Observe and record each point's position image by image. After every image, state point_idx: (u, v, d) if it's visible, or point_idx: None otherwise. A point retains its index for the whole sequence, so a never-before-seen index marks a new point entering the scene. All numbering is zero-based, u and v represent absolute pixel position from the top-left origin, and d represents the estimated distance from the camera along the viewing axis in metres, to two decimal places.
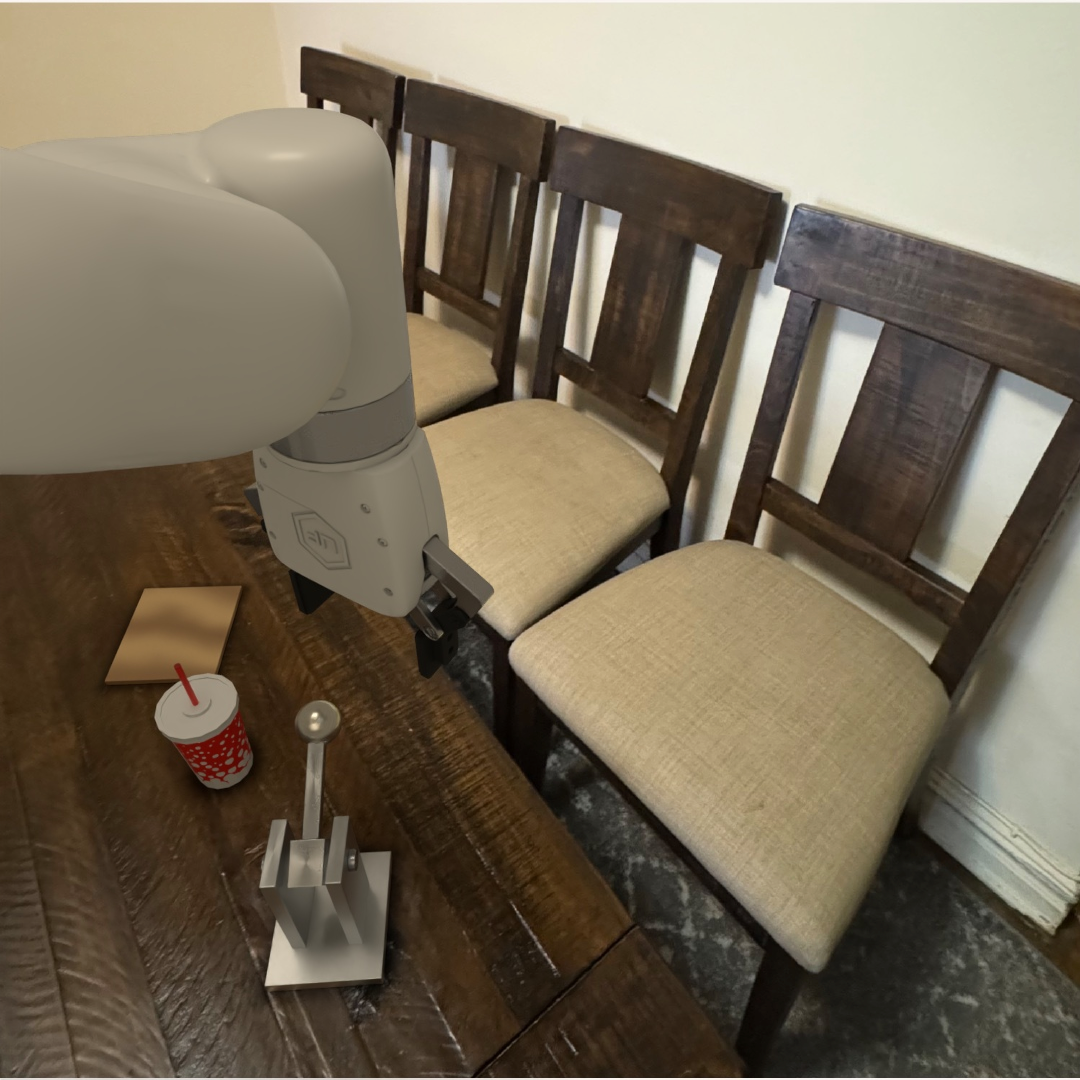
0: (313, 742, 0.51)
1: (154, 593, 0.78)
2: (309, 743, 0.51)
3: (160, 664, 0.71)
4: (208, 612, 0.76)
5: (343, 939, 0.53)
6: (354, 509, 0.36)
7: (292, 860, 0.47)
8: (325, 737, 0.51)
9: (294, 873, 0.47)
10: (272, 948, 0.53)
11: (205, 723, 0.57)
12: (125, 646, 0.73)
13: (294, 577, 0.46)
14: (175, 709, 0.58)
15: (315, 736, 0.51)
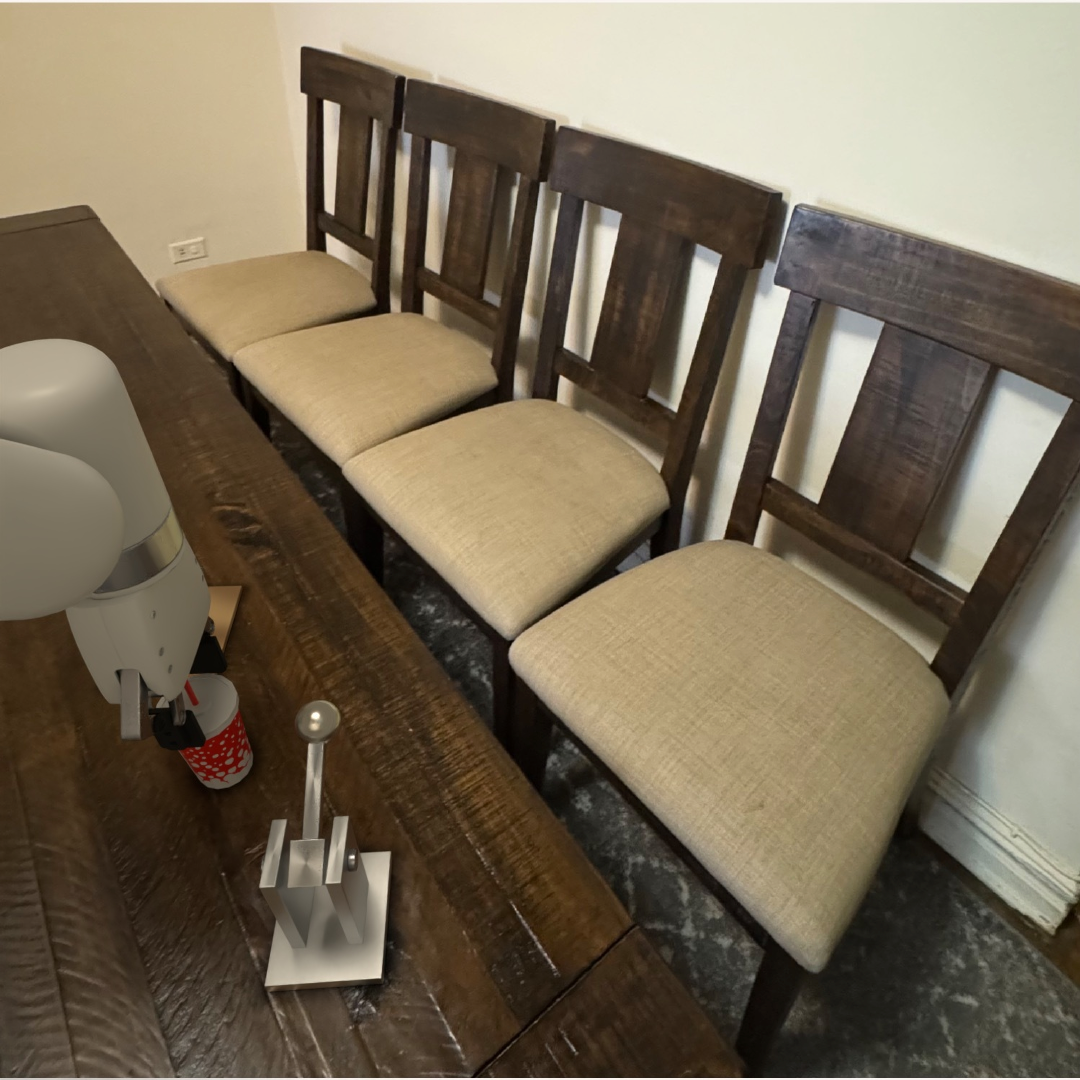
0: (313, 742, 0.51)
1: None
2: (309, 743, 0.51)
3: None
4: None
5: (343, 939, 0.53)
6: None
7: (292, 860, 0.47)
8: (325, 737, 0.51)
9: (294, 873, 0.47)
10: (272, 948, 0.53)
11: (205, 723, 0.57)
12: None
13: None
14: None
15: (315, 736, 0.51)
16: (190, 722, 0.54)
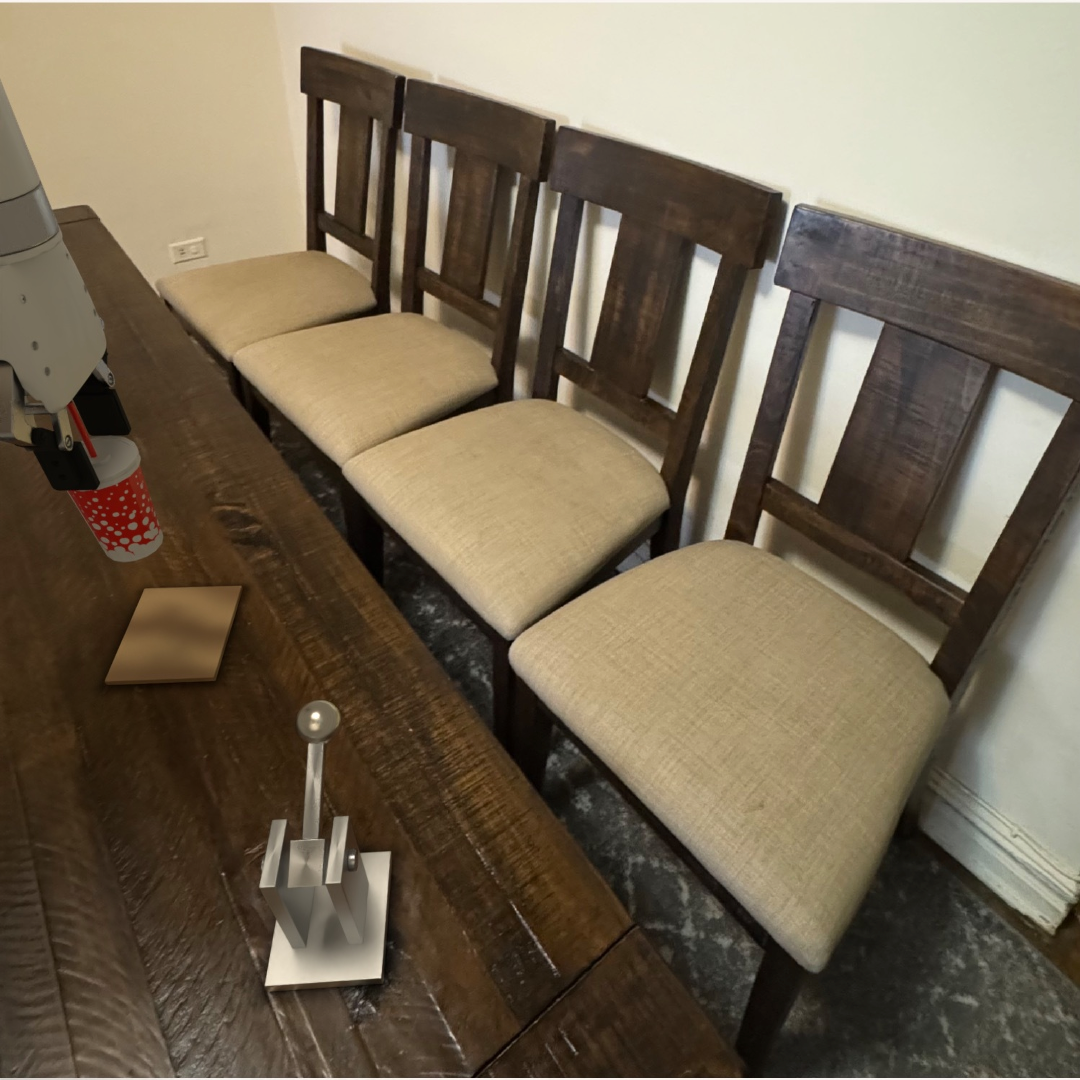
0: (313, 742, 0.51)
1: (154, 593, 0.78)
2: (309, 743, 0.51)
3: (160, 664, 0.71)
4: (208, 612, 0.76)
5: (343, 939, 0.53)
6: None
7: (292, 860, 0.47)
8: (325, 737, 0.51)
9: (294, 873, 0.47)
10: (272, 948, 0.53)
11: (102, 472, 0.56)
12: (125, 646, 0.73)
13: None
14: None
15: (315, 736, 0.51)
16: (79, 453, 0.52)
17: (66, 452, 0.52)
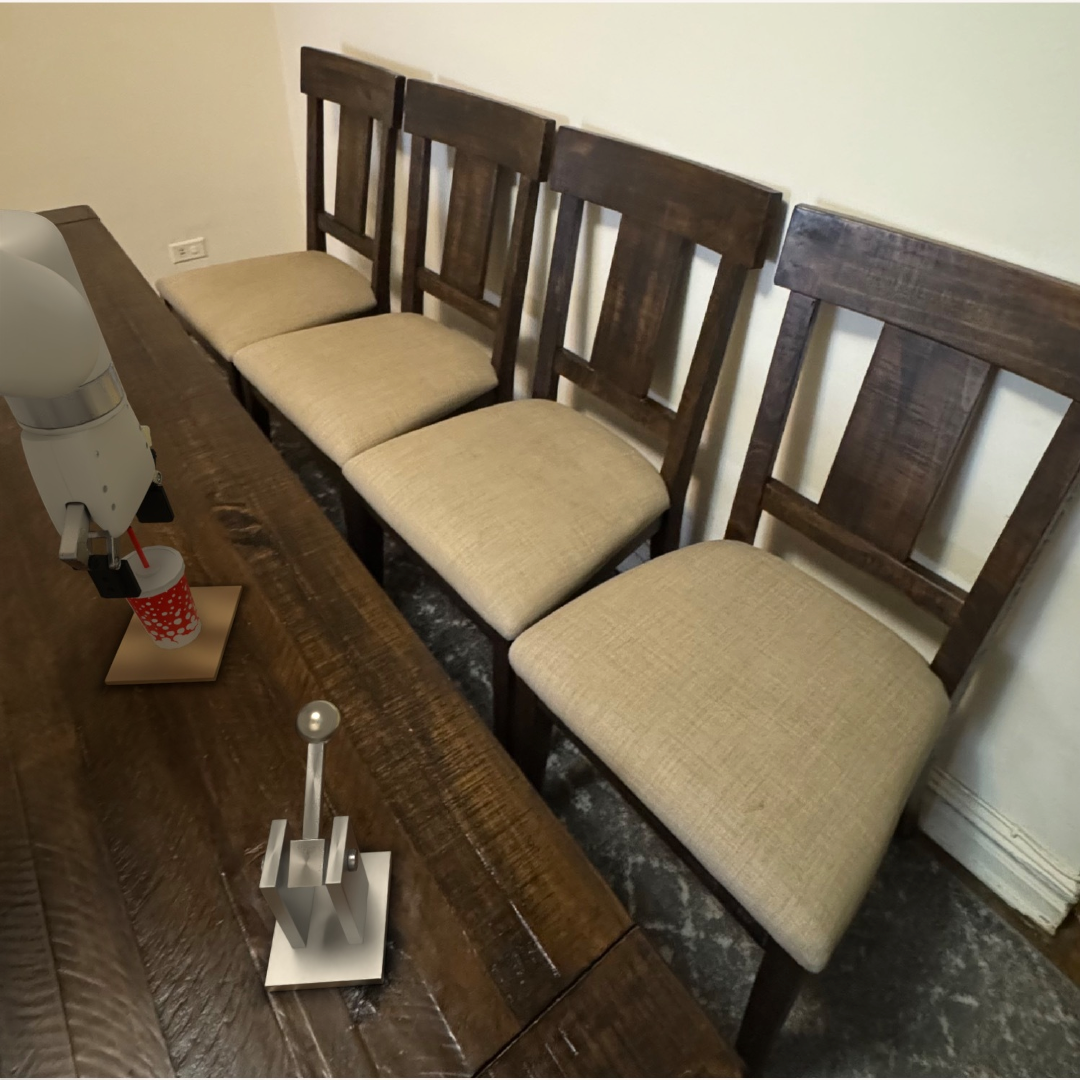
0: (313, 742, 0.51)
1: None
2: (309, 743, 0.51)
3: (160, 664, 0.71)
4: (208, 612, 0.76)
5: (343, 939, 0.53)
6: None
7: (292, 860, 0.47)
8: (325, 737, 0.51)
9: (294, 873, 0.47)
10: (272, 948, 0.53)
11: (154, 581, 0.67)
12: (125, 646, 0.73)
13: None
14: None
15: (315, 736, 0.51)
16: (125, 570, 0.61)
17: (115, 570, 0.61)
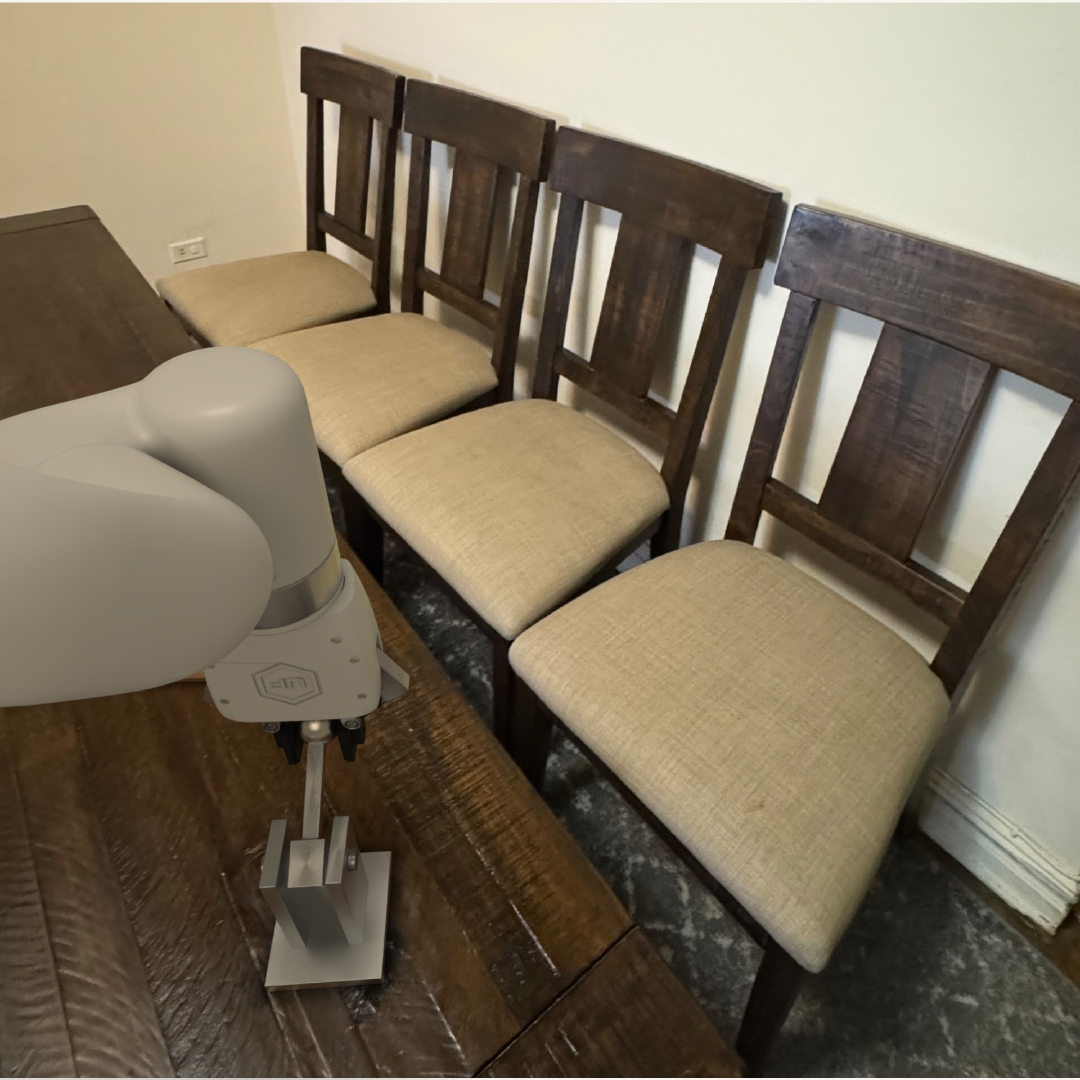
0: (313, 742, 0.51)
1: None
2: (309, 743, 0.51)
3: None
4: None
5: (343, 939, 0.53)
6: (325, 645, 0.42)
7: (292, 860, 0.47)
8: (325, 737, 0.51)
9: (294, 873, 0.47)
10: (272, 948, 0.53)
11: None
12: None
13: (285, 738, 0.50)
14: None
15: (315, 736, 0.51)
16: None
17: None
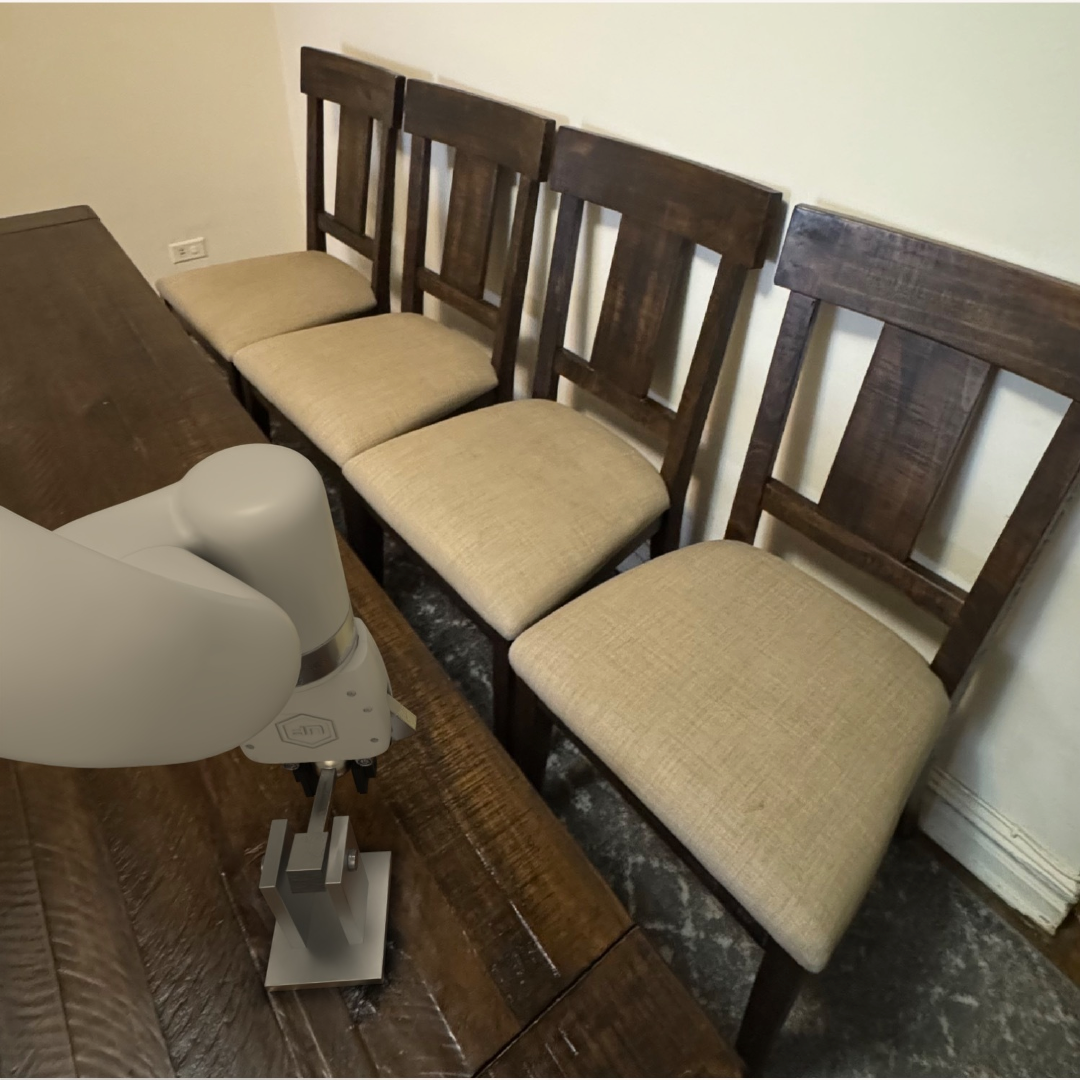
0: (326, 765, 0.55)
1: None
2: (322, 767, 0.55)
3: None
4: None
5: (343, 939, 0.53)
6: (341, 698, 0.47)
7: (294, 848, 0.48)
8: (338, 761, 0.55)
9: (295, 859, 0.47)
10: (272, 948, 0.53)
11: None
12: None
13: (303, 774, 0.55)
14: None
15: None
16: None
17: None
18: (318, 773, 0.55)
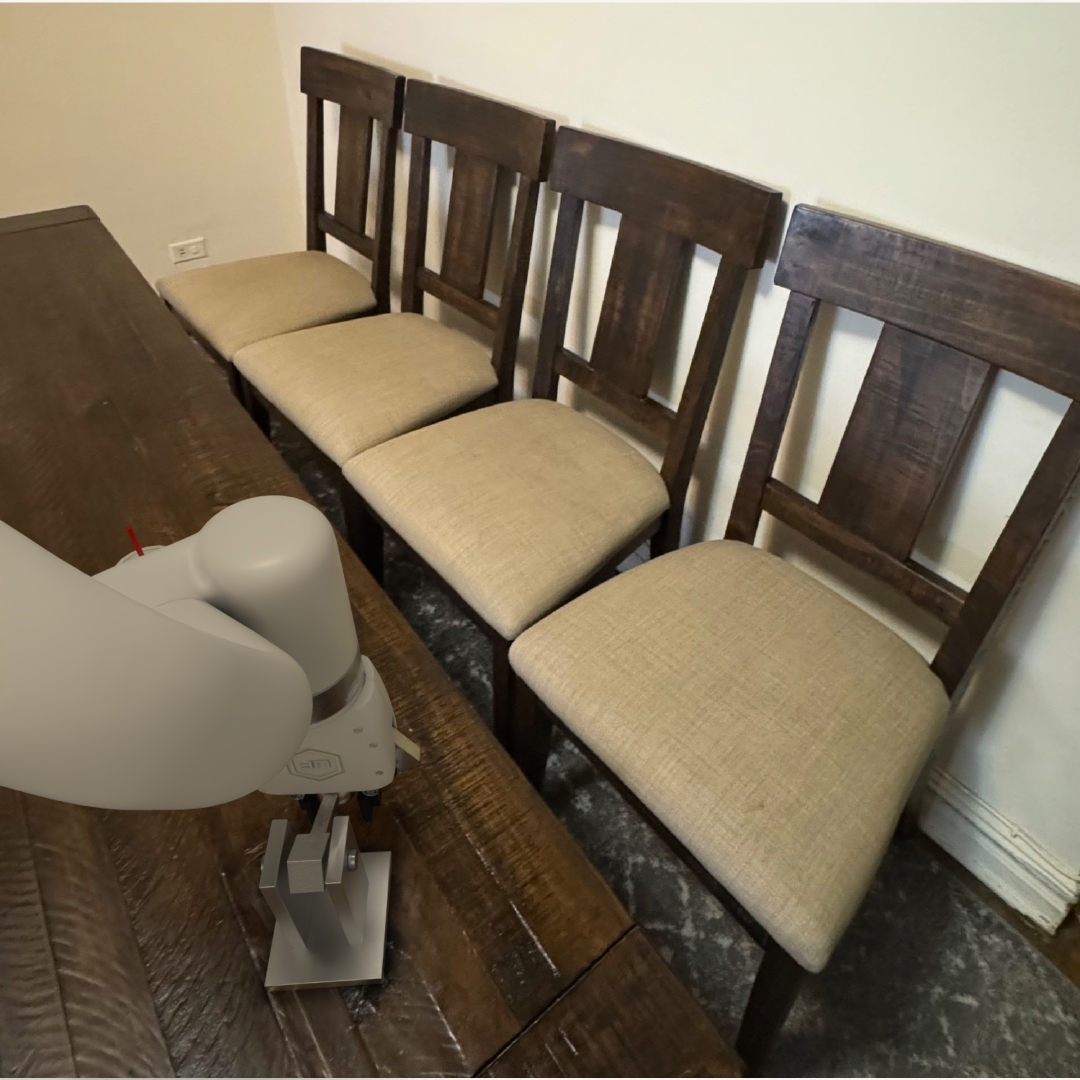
0: None
1: None
2: None
3: None
4: None
5: (343, 939, 0.53)
6: (348, 734, 0.49)
7: (295, 845, 0.48)
8: None
9: (295, 852, 0.48)
10: (272, 948, 0.53)
11: None
12: None
13: (309, 804, 0.56)
14: None
15: None
16: None
17: None
18: (321, 797, 0.56)
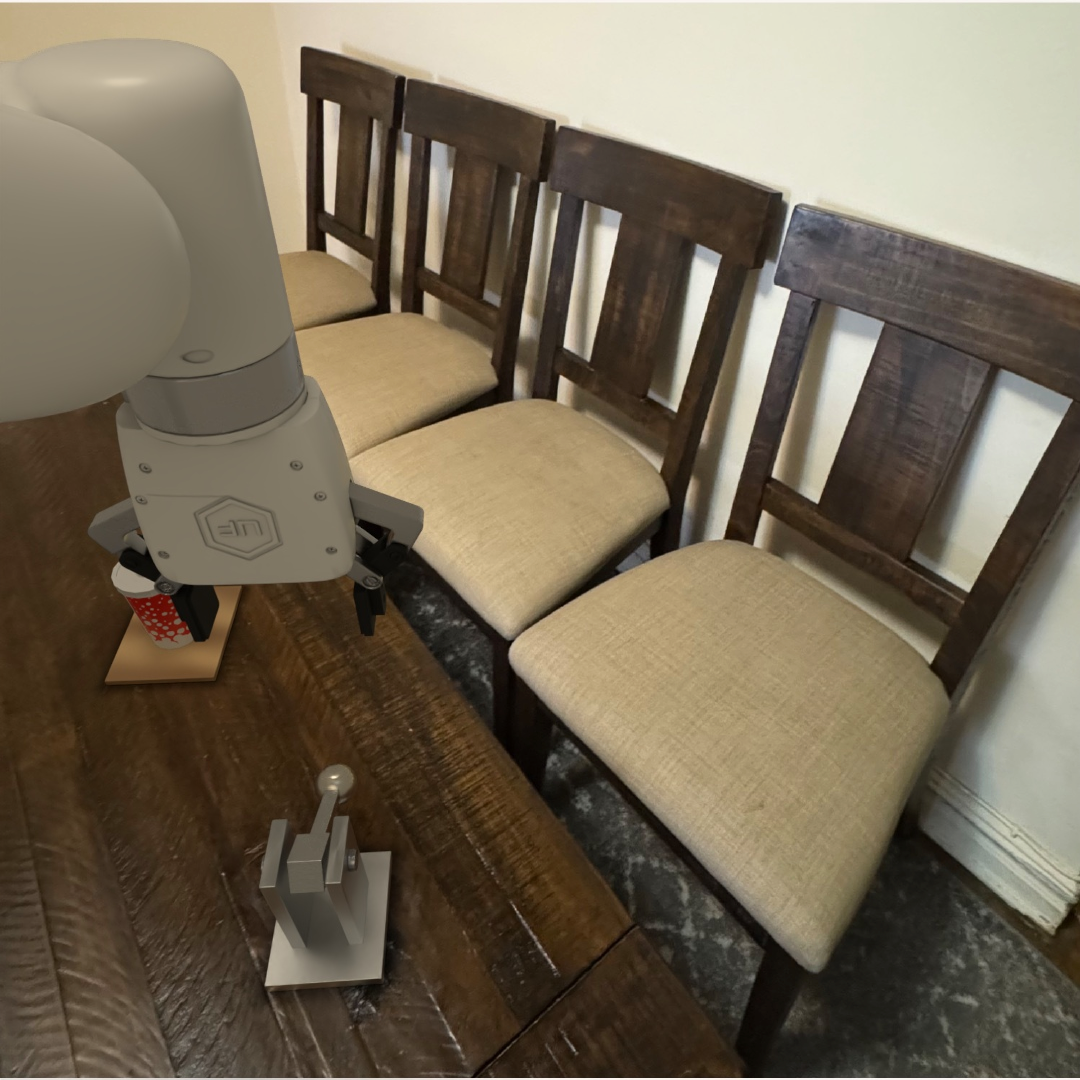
0: (330, 787, 0.56)
1: None
2: (326, 789, 0.56)
3: (160, 664, 0.71)
4: None
5: (343, 939, 0.53)
6: (283, 471, 0.34)
7: (295, 845, 0.48)
8: (341, 782, 0.56)
9: (295, 853, 0.48)
10: (272, 948, 0.53)
11: None
12: (125, 646, 0.73)
13: (184, 602, 0.41)
14: (129, 571, 0.68)
15: (333, 779, 0.56)
16: None
17: None
18: (321, 796, 0.56)
